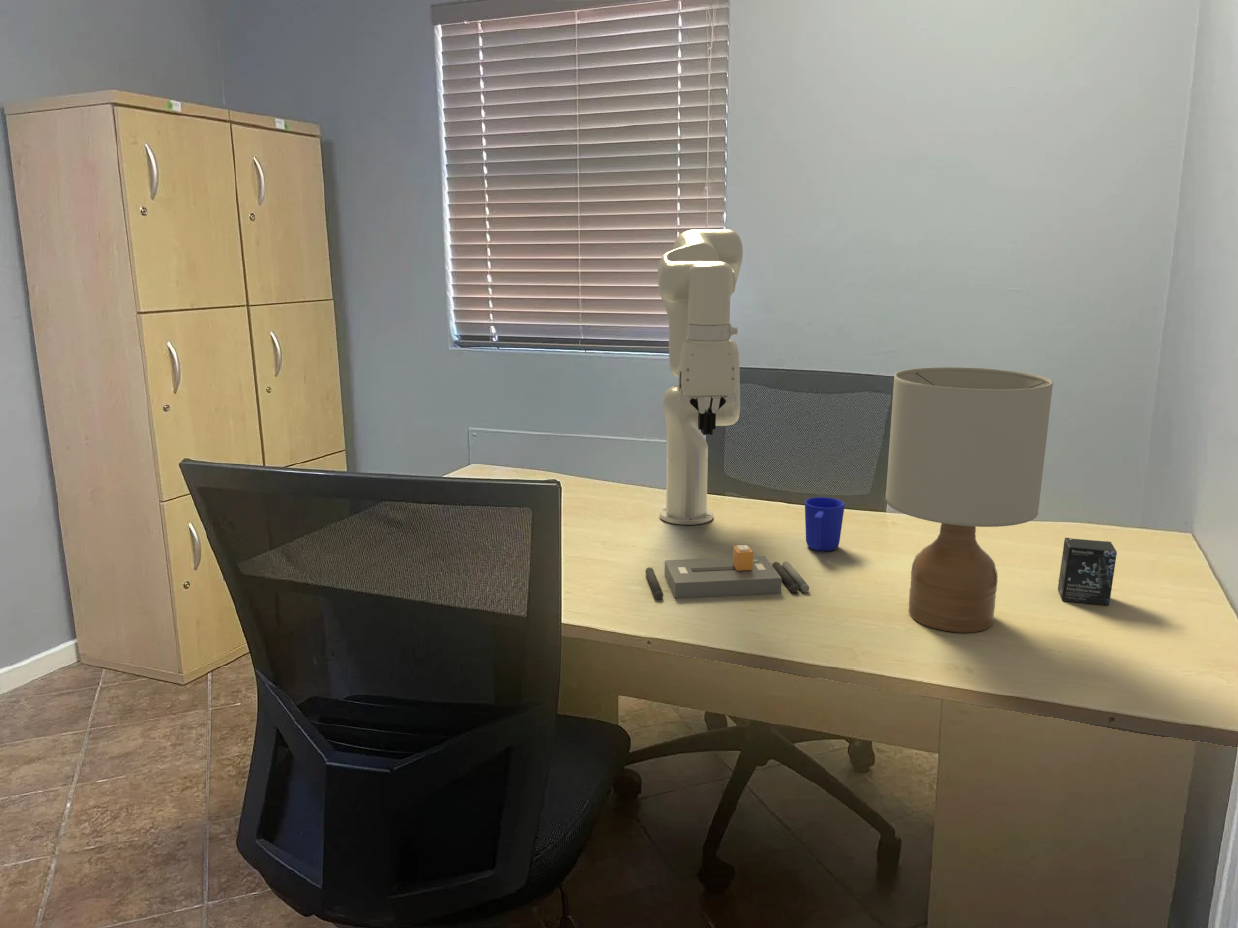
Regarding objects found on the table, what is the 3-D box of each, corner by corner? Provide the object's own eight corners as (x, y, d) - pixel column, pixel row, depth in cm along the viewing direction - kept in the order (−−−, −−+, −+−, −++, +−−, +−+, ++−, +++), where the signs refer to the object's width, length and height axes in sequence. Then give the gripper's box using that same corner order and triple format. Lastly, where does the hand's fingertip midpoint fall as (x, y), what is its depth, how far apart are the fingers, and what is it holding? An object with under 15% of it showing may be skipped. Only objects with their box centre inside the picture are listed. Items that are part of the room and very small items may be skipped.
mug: (795, 556, 187) (797, 510, 184) (806, 539, 197) (808, 495, 195) (835, 562, 184) (838, 515, 181) (844, 543, 194) (847, 499, 192)
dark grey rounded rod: (644, 574, 177) (644, 566, 177) (652, 573, 178) (652, 566, 177) (655, 600, 164) (655, 592, 164) (663, 600, 165) (663, 592, 164)
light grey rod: (780, 567, 180) (781, 560, 180) (788, 567, 181) (789, 560, 180) (801, 593, 167) (802, 585, 167) (810, 593, 167) (810, 585, 167)
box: (1061, 601, 163) (1068, 546, 161) (1057, 590, 168) (1063, 536, 166) (1110, 606, 161) (1117, 550, 158) (1103, 595, 166) (1111, 540, 164)
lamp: (863, 590, 169) (878, 367, 159) (993, 591, 168) (1017, 367, 158) (898, 646, 146) (918, 389, 135) (1049, 648, 145) (1080, 390, 135)
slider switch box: (664, 574, 177) (664, 559, 176) (763, 570, 179) (764, 555, 178) (675, 598, 166) (675, 582, 165) (781, 593, 168) (781, 577, 167)
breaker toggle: (732, 564, 174) (733, 544, 173) (747, 563, 174) (748, 543, 173) (736, 570, 170) (737, 550, 169) (752, 569, 170) (753, 550, 169)
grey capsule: (771, 568, 180) (771, 560, 180) (779, 567, 180) (779, 560, 180) (791, 594, 167) (791, 586, 167) (799, 593, 167) (800, 585, 167)
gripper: (744, 331, 167) (741, 428, 171) (664, 332, 165) (663, 430, 170) (754, 335, 160) (751, 436, 164) (671, 336, 158) (670, 439, 162)
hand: (706, 433), depth 167 cm, fingers closed
